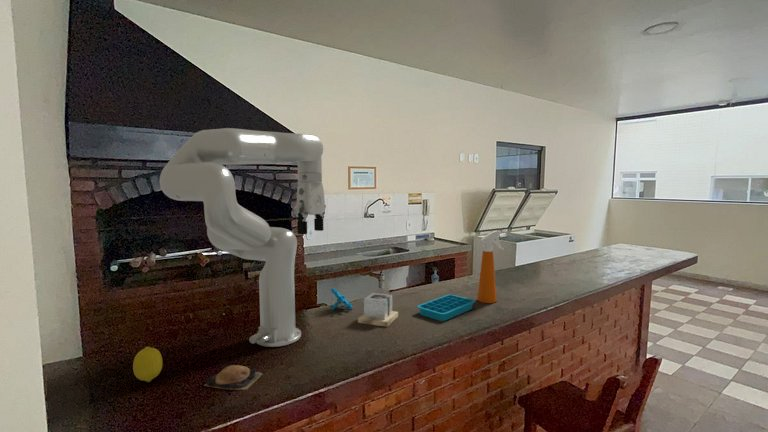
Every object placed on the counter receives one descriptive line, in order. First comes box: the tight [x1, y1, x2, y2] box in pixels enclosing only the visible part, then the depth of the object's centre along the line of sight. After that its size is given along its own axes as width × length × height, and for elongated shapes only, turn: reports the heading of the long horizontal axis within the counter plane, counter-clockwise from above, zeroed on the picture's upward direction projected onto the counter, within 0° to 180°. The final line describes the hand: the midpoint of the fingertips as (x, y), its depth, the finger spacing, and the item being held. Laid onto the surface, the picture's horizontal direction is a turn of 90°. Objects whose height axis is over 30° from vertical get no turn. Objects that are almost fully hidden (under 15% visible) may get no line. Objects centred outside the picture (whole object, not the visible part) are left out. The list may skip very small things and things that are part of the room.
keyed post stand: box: [357, 297, 399, 328], centre depth 121 cm, size 10×10×7 cm
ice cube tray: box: [416, 294, 476, 322], centre depth 129 cm, size 12×20×3 cm, turn 136°
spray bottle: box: [477, 230, 505, 304], centre depth 140 cm, size 7×11×26 cm, turn 112°
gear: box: [330, 287, 354, 311], centre depth 131 cm, size 11×6×10 cm
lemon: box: [132, 346, 163, 383], centre depth 82 cm, size 6×6×8 cm
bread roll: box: [203, 364, 263, 391], centre depth 84 cm, size 11×8×4 cm
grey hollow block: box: [363, 292, 393, 320], centre depth 121 cm, size 7×7×6 cm
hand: (311, 232), depth 121 cm, fingers open, 9 cm apart
